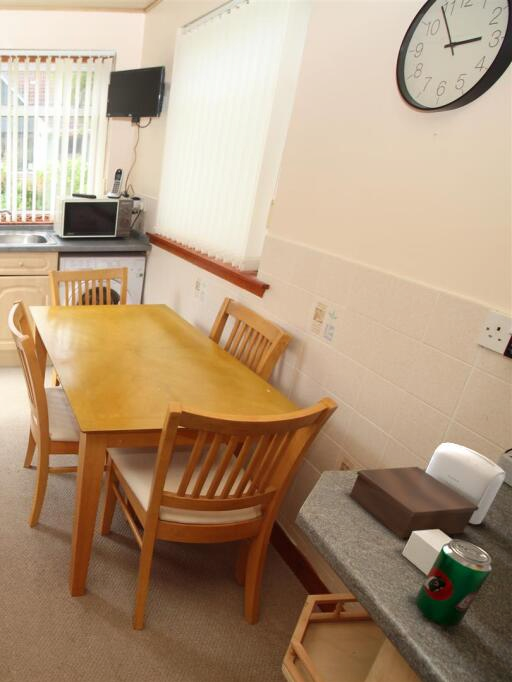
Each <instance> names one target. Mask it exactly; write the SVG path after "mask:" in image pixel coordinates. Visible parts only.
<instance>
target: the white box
mask: <svg viewBox="0 0 512 682" xmlns="http://www.w3.org/2000/svg"><path fill="white" fill-rule="evenodd" d="M451 540H453V538H451V537H449V536H448V534H444V533H443V532H442V531H440V530H439V529H434V530H423V531H413V532H412V534H411V536H410V537H409V539H408V541H407V542H406V545H405V547H404V549H403V551H402V553H401V555H402V556H403V557H405V558H406V559H407V560H408V561H410V563H411V564H413V565H414V566H415V567H416V568H418V569H419V571H421V572H422V573H423V574H425V576H427V575H428V573H429V572H430V570H431V568H432V566H433V564H434V562H435V560H436V558H437V556H438V554H439V553H440V551H441V549H442V547H443V545H444V544H447V543H449V542H450V541H451Z"/></svg>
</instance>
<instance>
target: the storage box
mask: <svg viewBox="0 0 512 682" xmlns="http://www.w3.org/2000/svg"><path fill="white" fill-rule="evenodd" d="M356 475H357V477H356V480H355V482H354V484H353V487H352V489H351V492H350V494H349V497H350V498H351V499H353V501H355V502H356V503H358V504H359V505H360V506H361V507H362V508H364V509H365V510H366V511H367V512H368V513H370V514H371V515H372V516H373V517H374V518H376V519H377V520H378V521H379V522H380V523H382V524H383V525H384V526H385V527H386V528H388V529H389V530H390V531H391V532H392V533H394V534H395V535H396V536H397V537H399V538H400V539H407V538H410V536H411V534H412V532H413V531H423V530H434V529H439V530H440V531H442V532H443V533H444V534H446V535H451V534H452V535H455V534H463V533H464V531H465V530H466V528H467V526H468V524H469V520H470V518H471V517H472V515H473V513H474V511H477V510H478V509H479V507H478V506H476V505H475V504H473V503H472V502H470V501H469V500H467V499H466V498H464V497H463V496H461V495H460V494H458V493H457V492H455V491H454V490H452V489H450V488H449V487H447V486H446V485H444V484H443V483H441V482H440V481H438V480H437V479H435V478H434V477H432V476H431V475H429V474H428V473H426V470H423V469H422V468H420V467H418V466H406V467H390V468H373V469H358V470H357V472H356Z"/></svg>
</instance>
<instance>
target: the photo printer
mask: <svg viewBox="0 0 512 682" xmlns="http://www.w3.org/2000/svg"><path fill="white" fill-rule="evenodd" d="M425 472H426V473H428V474H429V475H431V476H432V477H434V478H435V479H437V480H438V481H440V482H441V483H443V484H444V485H446V486H447V487H449V488H450V489H452V490H454V491H455V492H457V493H458V494H460V495H461V496H463V497H464V498H466V499H467V500H469V501H470V502H472V503H473V504H475V505H476V506H478V507H479V509H478V510H477V511H474V513H473V515H472V517H471V518H470V520H469V522H468V524H472V525H480V524H481V523H482V522H483V520H484V518H485V517H486V515H487V513H488V511H489V509H490V507H491V506H492V503H493V501H494V500H495V498H496V496H497V494H498V492H499V490H500V488H501V487H502V485H503V483H504V481H505V479H506V476H507V475H506V474H507V473H506V472H505V471H504V469H503V468H501V467H500V466H499V465H498V464H496V463H495V462H494V461H492V460H491V459H490V458H488V457H486V456H484V455H483V454H481V453H479V452H477V451H475V450H473V449H470V448H468V447H466V446H463V445H461V444H457V443H451V442H445V443H444V442H443V443H441V444H440V445H439V446H437V448H436V449H435V450H434V453H433V454H432V456H431V459H430V462H429V463H428V466H427V468H426V470H425Z"/></svg>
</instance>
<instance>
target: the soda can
mask: <svg viewBox="0 0 512 682" xmlns="http://www.w3.org/2000/svg"><path fill="white" fill-rule="evenodd" d="M492 570H493V566H492V558H491V556H490V555H489V554H488V553H487V552H486V551H485V550H484V549H482V548H481V547H479V546H477V545H475V544H473V543H471V542H468V541H465V540H463V539H452V540H451V541H450V542H449V543H447V544H444V545H443V547H442V549H441V551H440V553H439V554H438V556H437V558H436V560H435V562H434V564H433V566H432V568H431V570H430V572H429V573H428V575H426V577H425V579H424V581H423V583H422V585H421V587H420V588H419V591H418V592H417V594H416V596H415V598H414V601H415V602H414V603H415V604H416V606H417V608H418V610H419V611H420V612H421V614H422V615H423V616H425V617H426V618H427V619H428V620H430V621H432V622H434V623H435V624H438V625H440V626H443V627H458V626H459V625H460V624H461V623H462V620H463V619H464V617H465V615H466V614H467V612H468V610H469V609H470V607H471V605H472V604H473V602H474V600H475V599H476V597H477V595H478V594H479V592H480V590H481V588H482V587H483V585H484V583H485V582H486V580H487V578H488V577H489V575H490V573H491V572H492Z"/></svg>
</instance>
